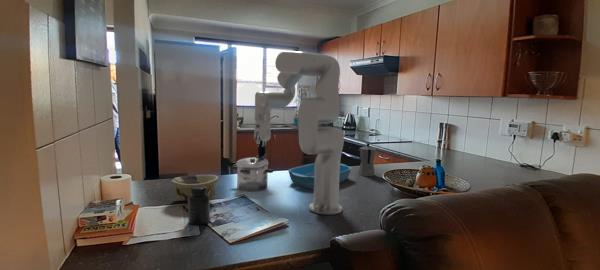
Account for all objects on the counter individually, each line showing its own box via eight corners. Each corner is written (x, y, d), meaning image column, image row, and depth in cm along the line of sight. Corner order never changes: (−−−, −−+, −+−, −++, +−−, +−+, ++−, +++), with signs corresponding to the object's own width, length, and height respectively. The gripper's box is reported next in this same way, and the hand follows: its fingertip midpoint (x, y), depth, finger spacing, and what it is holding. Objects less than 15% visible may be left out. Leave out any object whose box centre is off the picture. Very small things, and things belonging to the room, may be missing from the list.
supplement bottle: (202, 216, 114) (201, 183, 113) (213, 221, 110) (213, 186, 108) (184, 221, 109) (183, 186, 107) (195, 227, 104) (195, 191, 103)
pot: (264, 194, 142) (264, 171, 141) (224, 189, 148) (224, 167, 146) (277, 185, 156) (277, 165, 155) (240, 181, 162) (240, 161, 161)
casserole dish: (315, 194, 145) (316, 178, 144) (279, 184, 160) (279, 170, 159) (357, 179, 173) (358, 166, 172) (323, 172, 188) (324, 160, 187)
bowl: (226, 196, 137) (226, 174, 136) (202, 210, 120) (202, 185, 118) (189, 192, 141) (189, 170, 140) (161, 205, 124) (161, 180, 123)
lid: (260, 169, 142) (260, 165, 142) (230, 166, 147) (230, 162, 146) (277, 157, 161) (277, 153, 161) (250, 155, 165) (250, 151, 165)
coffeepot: (357, 171, 191) (358, 141, 189) (373, 172, 190) (375, 141, 188) (359, 178, 176) (361, 145, 174) (377, 178, 175) (379, 145, 173)
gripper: (263, 118, 150) (262, 157, 153) (275, 116, 165) (274, 152, 167) (248, 117, 153) (247, 156, 155) (261, 116, 167) (260, 151, 169)
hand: (261, 154), depth 161 cm, fingers closed
